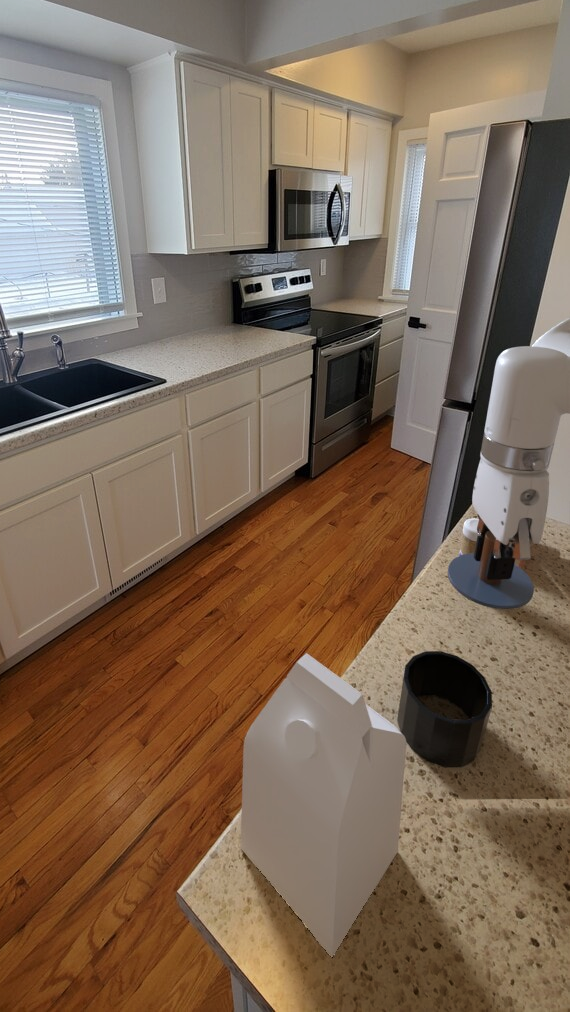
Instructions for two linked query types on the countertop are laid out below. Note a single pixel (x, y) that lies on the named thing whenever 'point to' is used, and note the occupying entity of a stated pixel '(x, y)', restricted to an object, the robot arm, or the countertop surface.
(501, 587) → the plate lid
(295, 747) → the milk
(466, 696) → the tin
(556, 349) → the robot arm
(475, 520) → the sprinkles bottle
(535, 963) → the countertop surface
